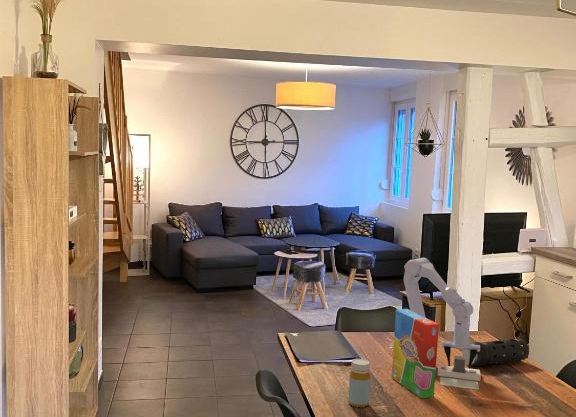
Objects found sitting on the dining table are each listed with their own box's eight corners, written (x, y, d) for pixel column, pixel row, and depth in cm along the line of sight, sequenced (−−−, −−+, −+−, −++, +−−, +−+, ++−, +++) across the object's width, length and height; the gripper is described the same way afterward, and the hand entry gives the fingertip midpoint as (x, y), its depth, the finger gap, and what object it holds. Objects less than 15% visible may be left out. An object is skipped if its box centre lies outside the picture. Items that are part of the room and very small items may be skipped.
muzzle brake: (528, 365, 255) (530, 341, 254) (475, 372, 245) (476, 347, 244) (512, 358, 264) (514, 334, 263) (460, 364, 254) (461, 340, 253)
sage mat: (439, 385, 228) (440, 384, 228) (440, 378, 236) (440, 377, 236) (478, 391, 225) (478, 389, 225) (477, 383, 232) (477, 381, 232)
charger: (453, 376, 237) (454, 358, 237) (453, 372, 241) (454, 355, 241) (464, 377, 236) (465, 360, 236) (463, 374, 240) (464, 356, 240)
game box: (391, 378, 234) (394, 309, 232) (403, 376, 236) (407, 308, 234) (422, 399, 215) (426, 324, 213) (434, 397, 217) (439, 323, 215)
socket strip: (437, 376, 238) (438, 370, 237) (437, 370, 244) (438, 364, 244) (480, 382, 234) (480, 375, 233) (479, 375, 240) (479, 369, 240)
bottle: (346, 399, 212) (348, 358, 211) (366, 399, 213) (368, 358, 211) (350, 408, 205) (352, 365, 204) (370, 408, 206) (373, 365, 204)
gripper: (442, 333, 235) (440, 367, 237) (481, 338, 232) (478, 372, 233) (442, 328, 242) (440, 361, 243) (480, 332, 238) (478, 366, 240)
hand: (459, 366), depth 239 cm, fingers open, 7 cm apart
